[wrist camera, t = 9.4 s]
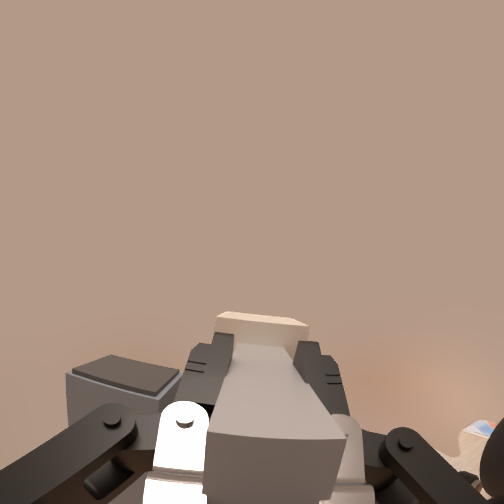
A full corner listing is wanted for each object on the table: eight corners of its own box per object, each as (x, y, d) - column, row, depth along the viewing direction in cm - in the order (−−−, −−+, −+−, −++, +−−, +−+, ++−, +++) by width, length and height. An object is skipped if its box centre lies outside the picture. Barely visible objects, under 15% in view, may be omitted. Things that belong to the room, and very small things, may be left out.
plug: (284, 380, 22) (292, 318, 22) (357, 551, 4) (418, 373, 5) (219, 373, 22) (226, 311, 22) (145, 540, 4) (140, 352, 5)
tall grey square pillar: (179, 541, 28) (184, 369, 32) (166, 580, 18) (159, 395, 22) (120, 525, 28) (109, 353, 33) (99, 558, 18) (65, 368, 23)
